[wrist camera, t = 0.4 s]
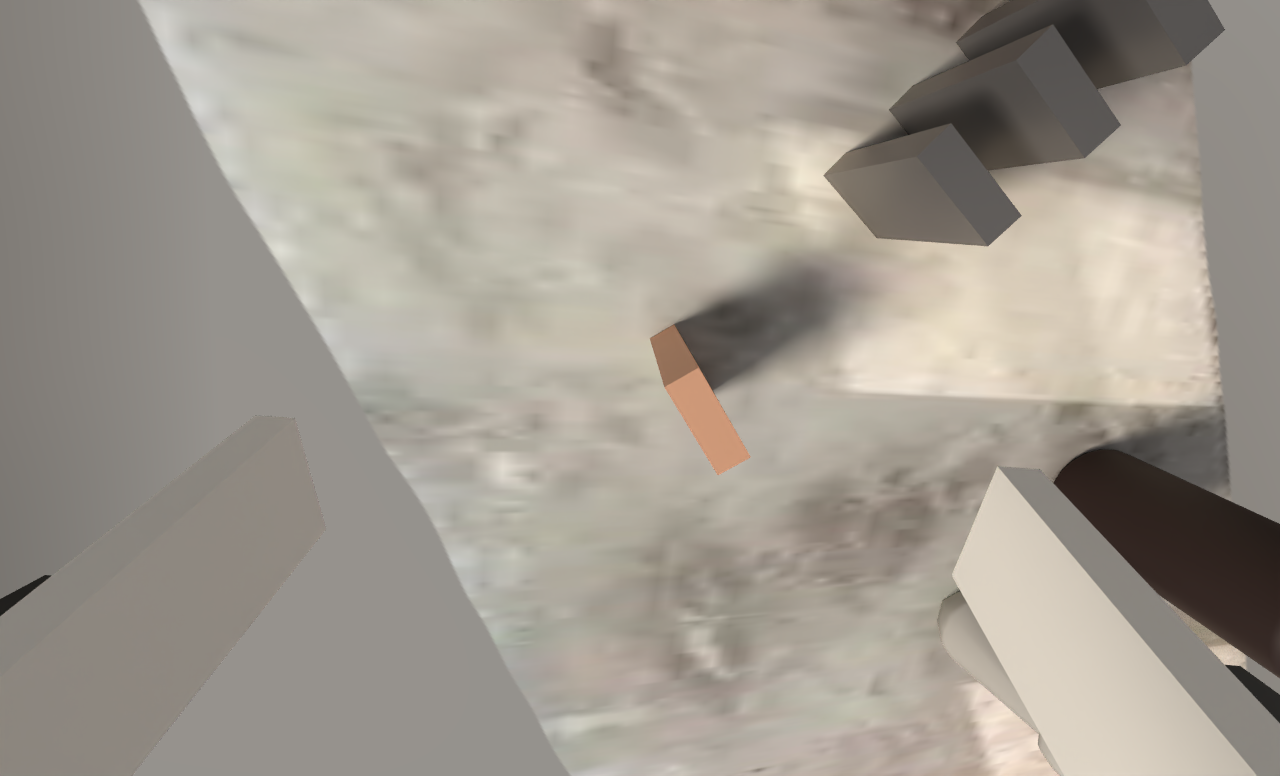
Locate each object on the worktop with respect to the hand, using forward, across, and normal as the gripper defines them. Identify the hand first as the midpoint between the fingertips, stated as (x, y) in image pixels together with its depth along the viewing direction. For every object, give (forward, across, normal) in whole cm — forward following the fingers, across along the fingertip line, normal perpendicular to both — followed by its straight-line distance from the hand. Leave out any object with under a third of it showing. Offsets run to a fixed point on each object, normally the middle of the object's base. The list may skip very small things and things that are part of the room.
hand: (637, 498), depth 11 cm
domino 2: (+28, +12, +2) cm, 31 cm away
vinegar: (+26, +32, -18) cm, 45 cm away
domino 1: (+29, +15, +5) cm, 33 cm away
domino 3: (+30, +19, +9) cm, 37 cm away
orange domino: (+25, +2, -9) cm, 27 cm away
